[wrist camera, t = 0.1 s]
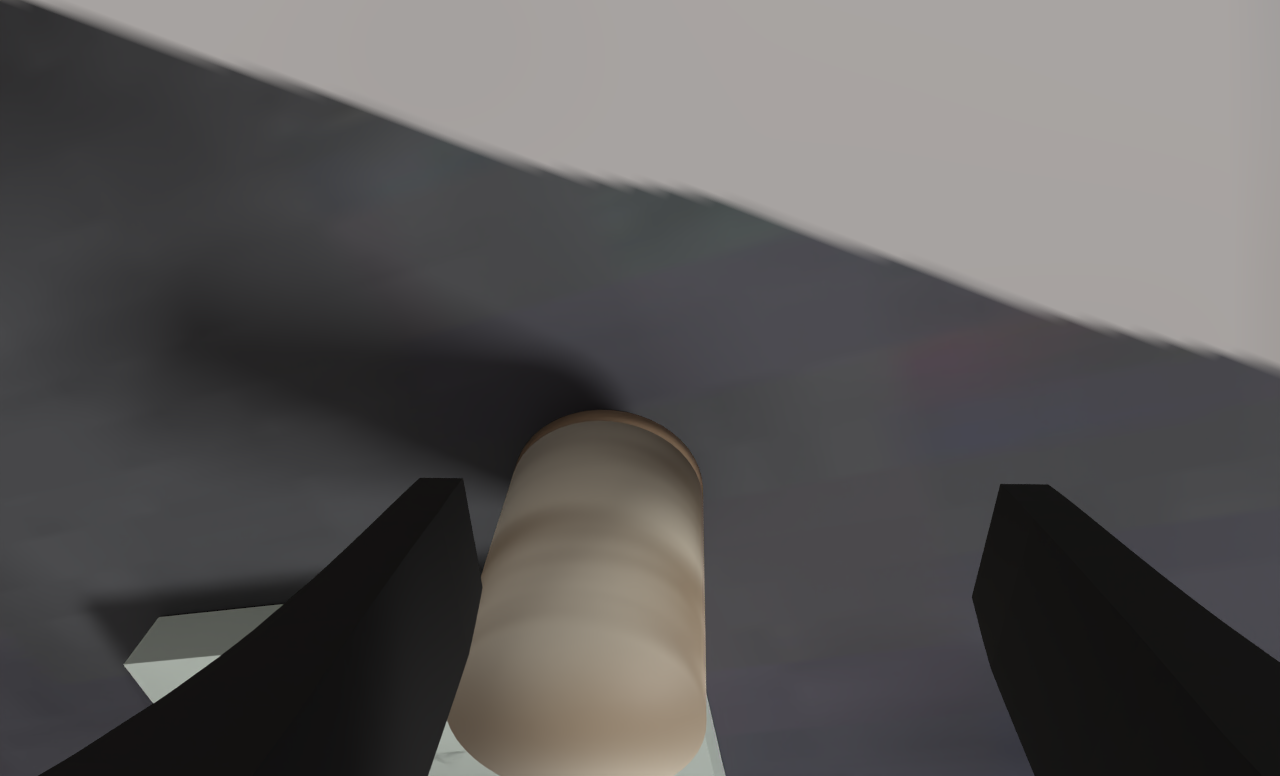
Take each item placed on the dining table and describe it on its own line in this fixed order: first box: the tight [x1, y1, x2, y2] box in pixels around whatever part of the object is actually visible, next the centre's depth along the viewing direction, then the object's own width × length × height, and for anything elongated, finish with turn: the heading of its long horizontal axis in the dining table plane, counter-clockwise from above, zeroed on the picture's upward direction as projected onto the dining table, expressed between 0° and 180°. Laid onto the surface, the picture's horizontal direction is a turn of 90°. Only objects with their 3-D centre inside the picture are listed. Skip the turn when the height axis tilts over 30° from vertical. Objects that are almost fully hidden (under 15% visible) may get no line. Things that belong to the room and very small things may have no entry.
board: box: [123, 604, 725, 776], centre depth 28 cm, size 11×18×2 cm, turn 101°
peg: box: [447, 410, 707, 776], centre depth 19 cm, size 5×5×9 cm
